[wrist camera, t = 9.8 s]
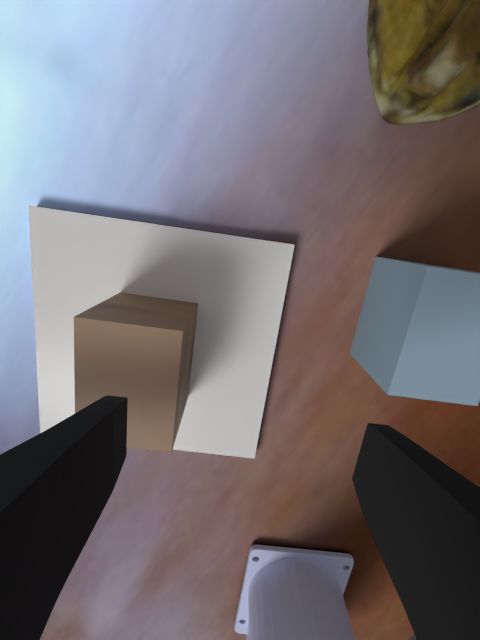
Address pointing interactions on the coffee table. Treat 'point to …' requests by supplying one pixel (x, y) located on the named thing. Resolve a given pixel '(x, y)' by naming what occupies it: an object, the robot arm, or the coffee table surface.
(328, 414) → the coffee table surface
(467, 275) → the slate-blue brick
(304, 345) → the coffee table surface
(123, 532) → the coffee table surface
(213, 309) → the baseplate
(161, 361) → the walnut brick
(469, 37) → the olive-yellow oval lump
